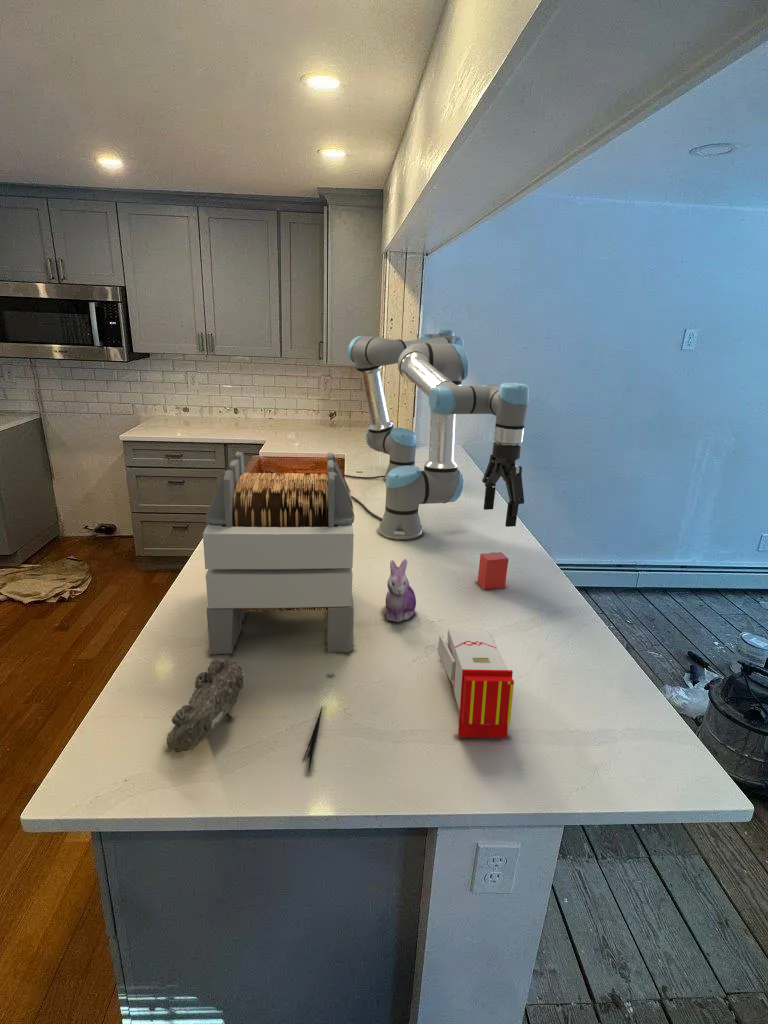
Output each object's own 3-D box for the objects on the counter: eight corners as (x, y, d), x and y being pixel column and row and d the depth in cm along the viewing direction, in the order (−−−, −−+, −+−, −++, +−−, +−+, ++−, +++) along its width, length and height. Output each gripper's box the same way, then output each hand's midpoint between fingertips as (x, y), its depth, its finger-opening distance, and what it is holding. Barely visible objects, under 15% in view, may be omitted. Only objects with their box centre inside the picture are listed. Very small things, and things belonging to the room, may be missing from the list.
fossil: (192, 660, 117) (244, 628, 112) (224, 691, 120) (276, 661, 115) (142, 746, 98) (202, 712, 93) (182, 779, 101) (242, 748, 96)
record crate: (229, 585, 158) (221, 442, 144) (346, 584, 161) (350, 444, 148) (206, 656, 126) (193, 481, 112) (353, 652, 130) (358, 483, 116)
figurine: (392, 627, 141) (395, 572, 136) (374, 608, 149) (376, 556, 144) (425, 619, 145) (429, 566, 140) (405, 601, 154) (408, 550, 149)
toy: (488, 613, 130) (523, 677, 101) (484, 667, 133) (517, 744, 104) (435, 612, 130) (455, 676, 101) (432, 666, 133) (451, 743, 103)
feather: (331, 679, 122) (336, 673, 122) (307, 777, 96) (313, 769, 95) (324, 675, 122) (329, 669, 121) (298, 772, 95) (304, 764, 95)
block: (505, 587, 164) (508, 558, 161) (484, 589, 162) (487, 560, 159) (497, 580, 169) (501, 552, 165) (477, 582, 167) (480, 553, 164)
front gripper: (544, 453, 141) (533, 533, 148) (499, 432, 163) (491, 502, 170) (517, 454, 139) (507, 534, 146) (475, 432, 161) (468, 503, 168)
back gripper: (461, 365, 267) (457, 410, 274) (442, 360, 290) (439, 402, 297) (446, 365, 265) (443, 410, 272) (428, 360, 288) (425, 402, 295)
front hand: (498, 517), depth 158 cm, fingers open, 13 cm apart
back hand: (441, 406), depth 285 cm, fingers open, 13 cm apart
